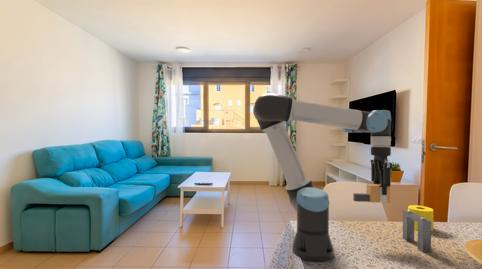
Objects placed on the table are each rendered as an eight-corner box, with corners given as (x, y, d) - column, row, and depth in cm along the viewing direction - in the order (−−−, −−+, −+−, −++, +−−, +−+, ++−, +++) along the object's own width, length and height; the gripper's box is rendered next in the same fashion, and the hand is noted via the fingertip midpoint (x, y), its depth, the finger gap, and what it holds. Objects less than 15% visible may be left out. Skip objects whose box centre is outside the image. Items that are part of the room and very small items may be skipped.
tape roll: (416, 222, 129) (417, 204, 129) (438, 229, 119) (438, 209, 119) (403, 225, 125) (403, 206, 125) (424, 232, 116) (424, 212, 116)
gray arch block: (422, 252, 97) (422, 219, 97) (402, 238, 110) (402, 209, 110) (430, 252, 96) (431, 219, 96) (409, 238, 109) (409, 209, 109)
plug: (356, 202, 108) (356, 185, 108) (352, 199, 112) (352, 183, 112) (390, 202, 107) (390, 186, 107) (385, 200, 111) (385, 184, 111)
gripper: (401, 147, 100) (400, 206, 100) (379, 145, 117) (379, 196, 117) (381, 147, 101) (381, 206, 101) (363, 145, 118) (362, 195, 118)
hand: (380, 200), depth 109 cm, fingers closed on plug, 4 cm apart
